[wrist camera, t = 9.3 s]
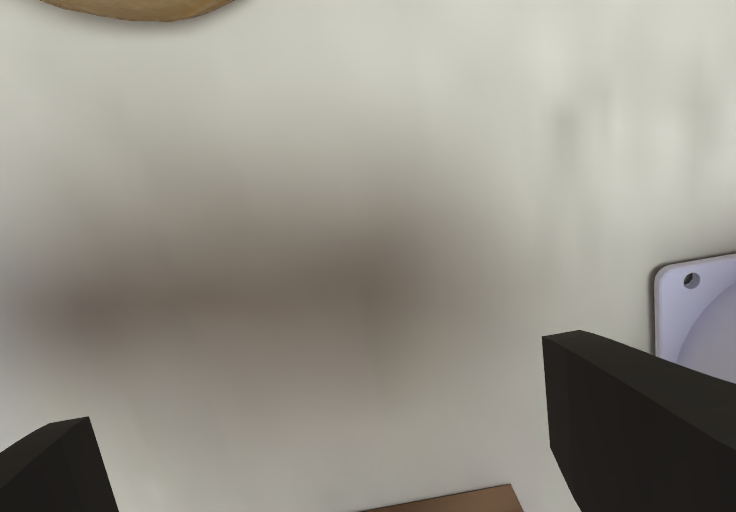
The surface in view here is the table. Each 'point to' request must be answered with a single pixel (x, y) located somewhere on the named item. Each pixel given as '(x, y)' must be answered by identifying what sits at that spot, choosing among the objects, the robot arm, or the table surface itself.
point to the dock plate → (465, 502)
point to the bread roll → (142, 8)
